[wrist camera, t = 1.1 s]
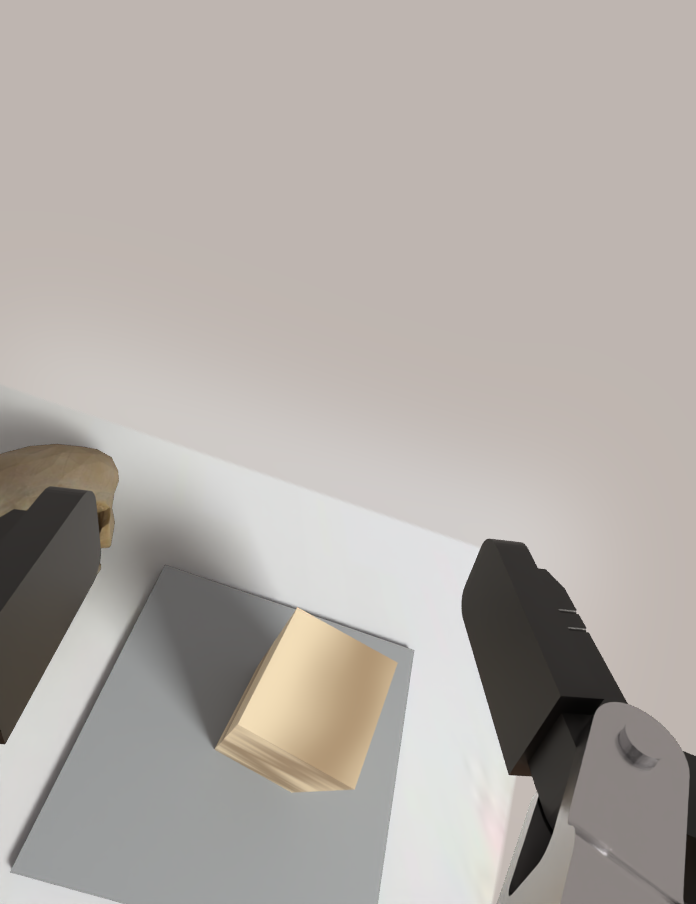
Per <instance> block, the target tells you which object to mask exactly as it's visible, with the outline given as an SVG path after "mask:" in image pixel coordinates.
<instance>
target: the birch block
mask: <svg viewBox="0 0 696 904" xmlns="http://www.w3.org/2000/svg"><path fill="white" fill-rule="evenodd" d="M397 664H398V663H397V662H396V661H394V660H392V659H390V658H388V657H387V656H385V655H383V654H381V653H379V652H377V651H376V650H374V649H372V648H370V647H368V646H367V645H365V644H363V643H361V642H359V641H358V640H356V639H354V638H352V637H350V636H349V635H347V634H345V633H343V632H341V631H339V630H338V629H336V628H334V627H332V626H330V625H329V624H327V623H325V622H323V621H321V620H320V619H318V618H316V617H314V616H312V615H311V614H309V613H307V612H305V611H303V610H301V609H300V608H298V607H297V609H296V610H295V612H294V613H293V615H292V616H291V617H290V619H289V620H288V622H287V623H286V625H285V626H284V628H283V629H282V631H281V632H280V634H279V635H278V637H277V638H276V640H275V641H274V643H273V644H272V646H271V647H270V648H269V650H268V651H267V653H266V654H265V656H264V657H263V659H262V660H261V662H260V663H259V665H258V666H257V668H256V670H255V672H254V674H253V676H252V678H251V680H250V682H249V684H248V686H247V688H246V689H245V691H244V693H243V695H242V697H241V699H240V701H239V703H238V705H237V707H236V709H235V710H234V712H233V714H232V716H231V718H230V720H229V722H228V724H227V726H226V728H225V730H224V732H223V733H222V735H221V737H220V739H219V741H218V743H217V745H216V747H215V750H216V751H218V752H220V753H222V754H223V755H225V756H227V757H229V758H231V759H232V760H234V761H236V762H238V763H240V764H241V765H243V766H245V767H247V768H249V769H250V770H252V771H254V772H256V773H257V774H259V775H261V776H263V777H265V778H266V779H268V780H270V781H272V782H274V783H275V784H277V785H279V786H281V787H282V788H284V789H286V790H288V791H290V792H291V793H294V792H314V791H335V790H355V787H356V784H357V781H358V778H359V775H360V772H361V769H362V766H363V764H364V761H365V758H366V755H367V752H368V749H369V746H370V743H371V740H372V737H373V734H374V731H375V728H376V725H377V722H378V719H379V717H380V714H381V711H382V708H383V705H384V702H385V699H386V696H387V693H388V690H389V687H390V684H391V681H392V678H393V675H394V672H395V669H396V667H397Z"/></svg>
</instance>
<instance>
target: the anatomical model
mask: <svg viewBox="0 0 696 904" xmlns="http://www.w3.org/2000/svg"><path fill="white" fill-rule="evenodd" d="M118 482H119V476H118V470H117V468H116V466H115V463H114V461H113V459H112V457H110V456H108V455H106V454H105V453H103V452H101V451H99V450H98V449H92V448H87V447H81V446H71V445H61V444H50V445H39V446H29V447H25V448H21V449H17V450H13V451H9V452H6V453H2V454H0V517H1V516H3V515H5V514H6V513H8V512H10V511H11V510H13V509H18V510H28V509H29V507H30V506H31V505H32V504H33V503H34V501H35V500H36V499H37V498H38V497H39V495H40V494H41V493H42V492H43V491H44V490H45V489H46V488H47V487H50V486H54V487H63V488H71V489H80V490H88V491H92V492H93V493H94V495H95V497H96V505H97V515H98V525H99V535H100V545H101V548H109V547H110V546H111V541H112V536H113V530H114V524H115V521H114V516H113V511H112V504H113V498H114V493H115V490H116V487H117V484H118ZM100 570H101V564H99V569H98V572H99V571H100ZM98 572H97V574H98Z"/></svg>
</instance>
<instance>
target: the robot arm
mask: <svg viewBox="0 0 696 904" xmlns="http://www.w3.org/2000/svg"><path fill="white" fill-rule="evenodd" d="M100 558H101V545H100V535H99V525H98V515H97V505H96V497H95V495H94V493H93V492H92V491H88V490H80V489H71V488H63V487H54V486H50V487H47V488H46V489H45V490H44V491H43V492H42V493H41V494H40V495H39V497H38V498H37V499H36V500H35V501H34V503H33V504H32V505H31V506H30V507H29V509H28V510H18V509H13V510H11V511H10V512H8V513H6V514H5V515H3V516H1V517H0V744H6V742H7V740H8V738H9V736H10V734H11V733H12V731H13V729H14V727H15V725H16V723H17V722H18V720H19V718H20V716H21V714H22V712H23V711H24V709H25V707H26V705H27V703H28V701H29V700H30V698H31V696H32V694H33V692H34V690H35V688H36V687H37V685H38V683H39V681H40V679H41V677H42V676H43V674H44V672H45V670H46V668H47V666H48V665H49V663H50V661H51V659H52V657H53V655H54V654H55V652H56V650H57V648H58V646H59V644H60V643H61V641H62V639H63V637H64V635H65V633H66V632H67V630H68V628H69V626H70V624H71V622H72V621H73V619H74V617H75V615H76V613H77V611H78V610H79V608H80V606H81V604H82V602H83V600H84V599H85V597H86V595H87V593H88V591H89V589H90V588H91V586H92V584H93V582H94V580H95V578H96V575H97V572H98V569H99V564H100ZM462 616H463V620H464V624H465V627H466V630H467V634H468V637H469V641H470V644H471V647H472V651H473V654H474V658H475V661H476V665H477V668H478V671H479V675H480V678H481V682H482V685H483V688H484V692H485V695H486V699H487V702H488V705H489V709H490V712H491V716H492V719H493V723H494V726H495V729H496V733H497V736H498V740H499V743H500V746H501V750H502V753H503V757H504V760H505V764H506V767H507V770H508V774H509V775H517V776H532V777H533V780H534V784H535V787H536V790H537V792H536V794H535V795H534V796H533V798H532V801H531V803H530V806H529V809H528V812H527V815H526V818H525V821H524V824H523V827H522V830H521V833H520V836H519V839H518V842H517V845H516V848H515V851H514V854H513V857H512V860H511V863H510V866H509V869H508V872H507V875H506V878H505V882H504V884H503V887H502V890H501V893H500V896H499V899H498V901H497V904H696V756H694V755H691V754H689V753H686V752H684V751H682V749H681V747H680V746H679V744H678V743H677V741H676V740H675V738H674V737H673V736H672V735H671V734H670V733H669V731H668V730H667V729H666V728H665V727H664V726H663V725H662V724H661V723H659V722H658V721H657V720H656V719H654V718H653V717H652V716H650V715H649V714H647V713H646V712H644V711H642V710H640V709H639V708H636V707H634V706H632V705H629V704H628V703H627V702H626V700H625V698H624V696H623V694H622V693H621V691H620V689H619V687H618V685H617V683H616V682H615V680H614V678H613V676H612V674H611V673H610V671H609V669H608V667H607V665H606V663H605V661H604V660H603V658H602V656H601V654H600V652H599V651H598V649H597V647H596V645H595V643H594V641H593V640H592V638H591V636H590V634H589V633H588V632H586V627H585V625H584V623H583V621H582V620H581V618H580V616H579V614H576V608H575V607H574V605H573V603H572V601H571V599H570V597H569V596H568V594H567V592H566V590H565V588H564V587H562V585H561V584H560V583H559V582H558V581H556V579H555V578H554V577H553V576H552V575H551V574H550V573H549V572H548V571H547V570H545V569H538V568H537V566H536V564H535V562H534V560H533V558H532V556H531V554H530V552H529V550H528V548H527V546H525V544H523V543H521V542H513V541H505V540H496V539H487V540H485V541H484V543H483V544H482V546H481V549H480V551H479V553H478V556H477V558H476V561H475V563H474V565H473V568H472V570H471V573H470V575H469V578H468V580H467V582H466V585H465V587H464V590H463V595H462Z"/></svg>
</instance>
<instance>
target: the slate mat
mask: <svg viewBox="0 0 696 904" xmlns="http://www.w3.org/2000/svg"><path fill="white" fill-rule="evenodd" d="M295 610H296V609H293V608H290V607H287V606H284V605H281V604H278V603H276V602H273V601H270V600H267V599H264V598H261V597H258V596H255V595H252V594H249V593H247V592H244V591H241V590H238V589H235V588H232V587H229V586H226V585H223V584H220V583H217V582H215V581H212V580H209V579H206V578H203V577H200V576H197V575H194V574H191V573H188V572H185V571H183V570H180V569H177V568H174V567H171V566H168V565H165V566H164V568H163V570H162V572H161V574H160V576H159V578H158V580H157V582H156V584H155V586H154V588H153V590H152V592H151V594H150V596H149V598H148V600H147V602H146V604H145V606H144V608H143V610H142V612H141V614H140V616H139V618H138V619H137V621H136V623H135V625H134V627H133V629H132V631H131V633H130V635H129V637H128V639H127V641H126V643H125V645H124V647H123V649H122V651H121V653H120V655H119V657H118V659H117V661H116V663H115V665H114V667H113V669H112V671H111V673H110V675H109V677H108V679H107V681H106V683H105V685H104V687H103V689H102V691H101V693H100V695H99V697H98V699H97V701H96V703H95V705H94V707H93V709H92V711H91V713H90V715H89V717H88V719H87V720H86V722H85V724H84V726H83V728H82V730H81V732H80V734H79V736H78V738H77V740H76V742H75V744H74V746H73V748H72V750H71V752H70V754H69V756H68V758H67V760H66V762H65V764H64V766H63V768H62V770H61V772H60V774H59V776H58V778H57V780H56V782H55V784H54V786H53V788H52V790H51V792H50V794H49V796H48V798H47V800H46V802H45V804H44V806H43V808H42V810H41V812H40V814H39V816H38V818H37V820H36V822H35V823H34V825H33V827H32V829H31V831H30V833H29V835H28V837H27V839H26V841H25V843H24V845H23V847H22V849H21V851H20V853H19V855H18V857H17V859H16V861H15V863H14V865H13V867H12V869H11V871H10V872H11V873H15V874H18V875H22V876H25V877H29V878H33V879H36V880H40V881H43V882H47V883H51V884H54V885H58V886H62V887H65V888H69V889H72V890H76V891H80V892H83V893H87V894H91V895H94V896H98V897H101V898H105V899H109V900H112V901H116V902H119V903H123V904H378V898H379V891H380V884H381V877H382V870H383V864H384V857H385V850H386V843H387V836H388V829H389V822H390V815H391V808H392V801H393V794H394V787H395V780H396V773H397V766H398V759H399V752H400V746H401V739H402V732H403V725H404V718H405V711H406V704H407V697H408V690H409V683H410V676H411V669H412V662H413V655H414V650H412V649H409V648H406V647H403V646H401V645H398V644H395V643H392V642H389V641H386V640H383V639H380V638H377V637H374V636H372V635H369V634H366V633H363V632H360V631H357V630H354V629H351V628H348V627H345V626H342V625H340V624H337V623H334V622H331V621H328V620H325V619H322V618H319V617H316V616H314V617H316V618H318V619H320V620H321V621H323V622H325V623H327V624H329V625H330V626H332V627H334V628H336V629H338V630H339V631H341V632H343V633H345V634H347V635H349V636H350V637H352V638H354V639H356V640H358V641H359V642H361V643H363V644H365V645H367V646H368V647H370V648H372V649H374V650H376V651H377V652H379V653H381V654H383V655H385V656H387V657H388V658H390V659H392V660H394V661H396V662H397V663H398V664H397V667H396V669H395V672H394V675H393V678H392V681H391V684H390V687H389V690H388V693H387V696H386V699H385V702H384V705H383V708H382V711H381V714H380V717H379V719H378V722H377V725H376V728H375V731H374V734H373V737H372V740H371V743H370V746H369V749H368V752H367V755H366V758H365V761H364V764H363V766H362V769H361V772H360V775H359V778H358V781H357V784H356V787H355V790H335V791H314V792H294V793H291V792H290V791H288V790H286V789H284V788H282V787H281V786H279V785H277V784H275V783H274V782H272V781H270V780H268V779H266V778H265V777H263V776H261V775H259V774H257V773H256V772H254V771H252V770H250V769H249V768H247V767H245V766H243V765H241V764H240V763H238V762H236V761H234V760H232V759H231V758H229V757H227V756H225V755H223V754H222V753H220V752H218V751H216V750H215V747H216V745H217V743H218V741H219V739H220V737H221V735H222V733H223V732H224V730H225V728H226V726H227V724H228V722H229V720H230V718H231V716H232V714H233V712H234V710H235V709H236V707H237V705H238V703H239V701H240V699H241V697H242V695H243V693H244V691H245V689H246V688H247V686H248V684H249V682H250V680H251V678H252V676H253V674H254V672H255V670H256V668H257V666H258V665H259V663H260V662H261V660H262V659H263V657H264V656H265V654H266V653H267V651H268V650H269V648H270V647H271V646H272V644H273V643H274V641H275V640H276V638H277V637H278V635H279V634H280V632H281V631H282V629H283V628H284V626H285V625H286V623H287V622H288V620H289V619H290V617H291V616H292V615H293V613H294V612H295ZM312 616H313V615H312Z"/></svg>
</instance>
